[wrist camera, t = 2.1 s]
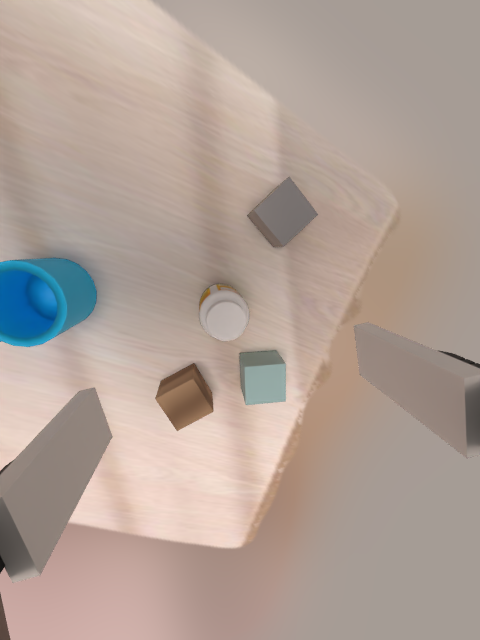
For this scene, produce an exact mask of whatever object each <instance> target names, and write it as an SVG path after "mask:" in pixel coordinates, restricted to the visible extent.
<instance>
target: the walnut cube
mask: <svg viewBox="0 0 480 640" xmlns="http://www.w3.org/2000/svg"><path fill="white" fill-rule="evenodd" d="M155 399H156V400H157V402H158V403H159V405H160V406H161V408H162V409H163V411H164V412H165V414H166V415H167V417H168V418H169V420H170V421H171V423H172V424H173V426H174V427H175V429H176V430H177V431H178V430H180V429H182V428H184V427H186V426H187V425H189V424H191V423H193V422H195V421H197V420H199V419H200V418H202V417H204V416H206V415H208V414H210V413H212V412H213V399H212V392H211V390H210V389H209V387H208V385H207V384H206V382H205V380H204V379H203V377H202V375H201V374H200V372H199V370H198V369H197V367H196V365H195V364H192V365H190V366H188V367H186V368H184V369H182V370H180V371H179V372H177V373H175V374H173V375H171V376H169V377H167V378H165V379H164V380H162V381H161V382H160V386H159V389H158V392H157V395H156V398H155Z"/></svg>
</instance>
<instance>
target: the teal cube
mask: <svg viewBox="0 0 480 640" xmlns="http://www.w3.org/2000/svg"><path fill="white" fill-rule="evenodd" d="M240 376H241V389H242V393H243V396H244V400H245V404H246V405H252V404H263V403H273V402H283V401H286V363H285V362H284V361H283V359H282V358H281V357H280V355H279V354H278V353H277V351H276V350H274V351H261V352H248V353H240Z"/></svg>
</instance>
